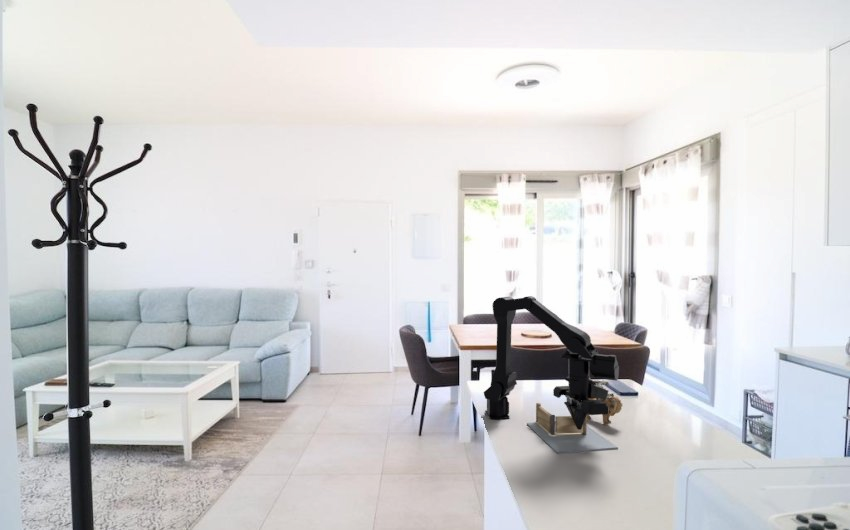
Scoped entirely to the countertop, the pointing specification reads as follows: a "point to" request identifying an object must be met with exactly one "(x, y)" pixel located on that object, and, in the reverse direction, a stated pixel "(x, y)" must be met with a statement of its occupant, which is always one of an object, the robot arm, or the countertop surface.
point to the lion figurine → (610, 408)
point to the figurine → (599, 384)
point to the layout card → (573, 440)
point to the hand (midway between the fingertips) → (579, 429)
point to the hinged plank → (568, 425)
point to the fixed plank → (545, 419)
